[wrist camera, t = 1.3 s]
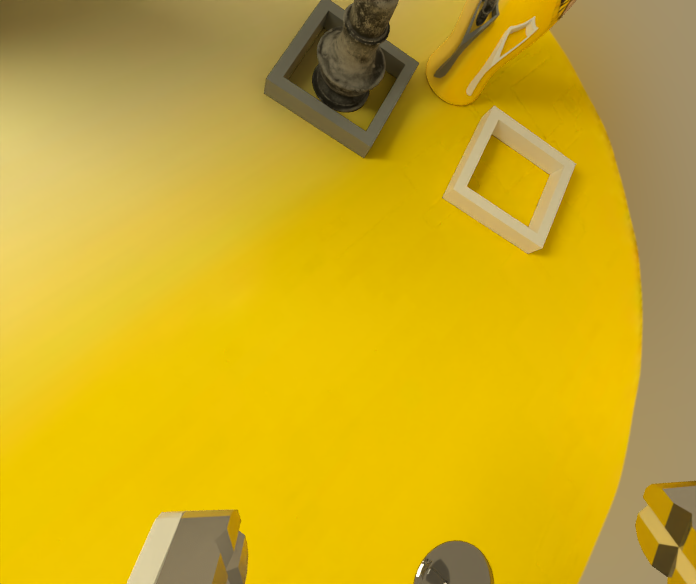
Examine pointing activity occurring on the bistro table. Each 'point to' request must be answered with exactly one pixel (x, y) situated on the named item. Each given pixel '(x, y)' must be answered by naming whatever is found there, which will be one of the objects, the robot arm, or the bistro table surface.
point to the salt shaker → (353, 55)
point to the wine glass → (454, 565)
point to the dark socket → (314, 109)
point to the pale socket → (534, 152)
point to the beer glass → (487, 43)
